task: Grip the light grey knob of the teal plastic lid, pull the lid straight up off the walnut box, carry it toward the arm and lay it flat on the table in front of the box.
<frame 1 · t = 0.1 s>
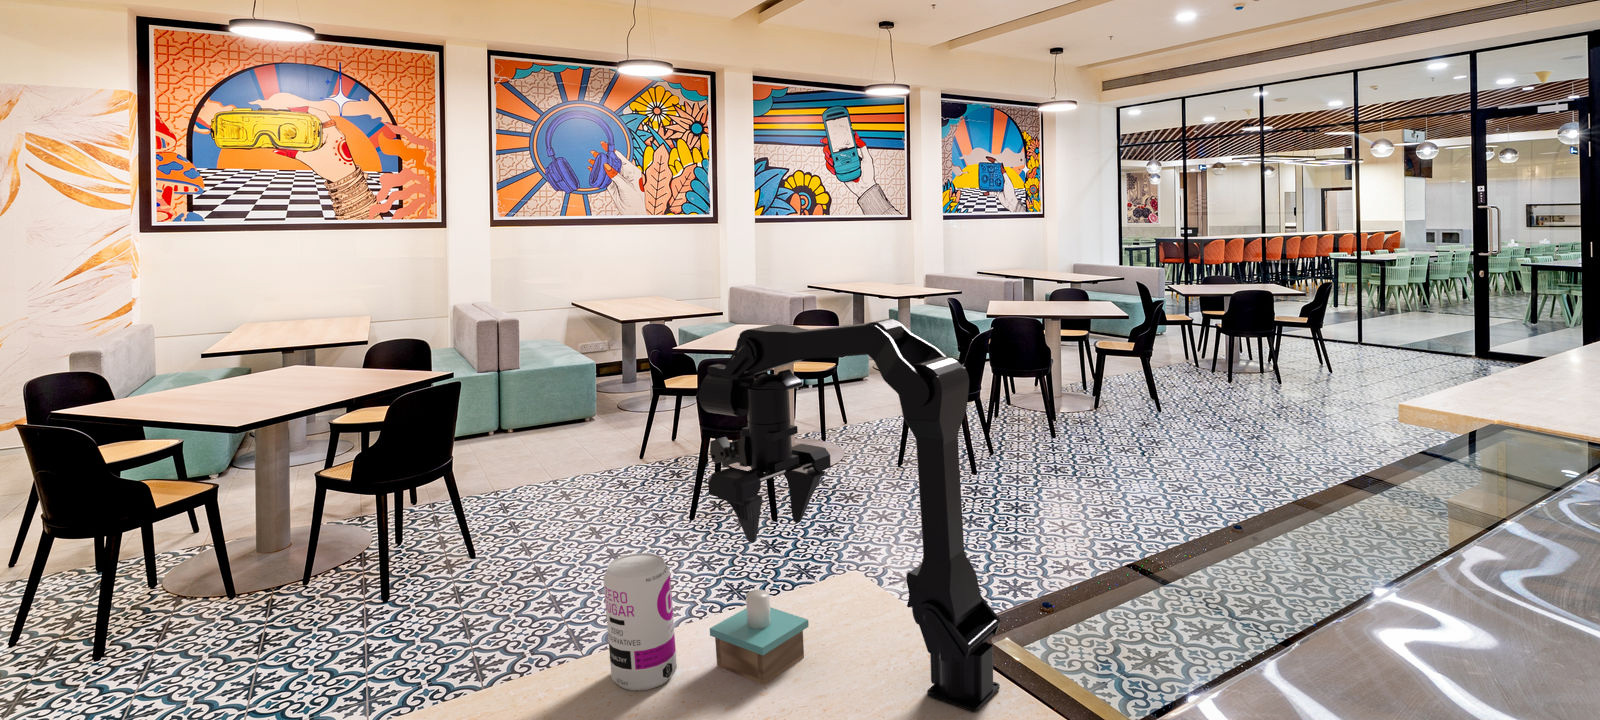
hand: (774, 531, 117), 15 cm above the table, fingers open, 9 cm apart
box: (760, 664, 112), on the table, touching lid
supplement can: (644, 677, 109), on the table
lid: (759, 631, 111), point 4 cm above the table, touching box
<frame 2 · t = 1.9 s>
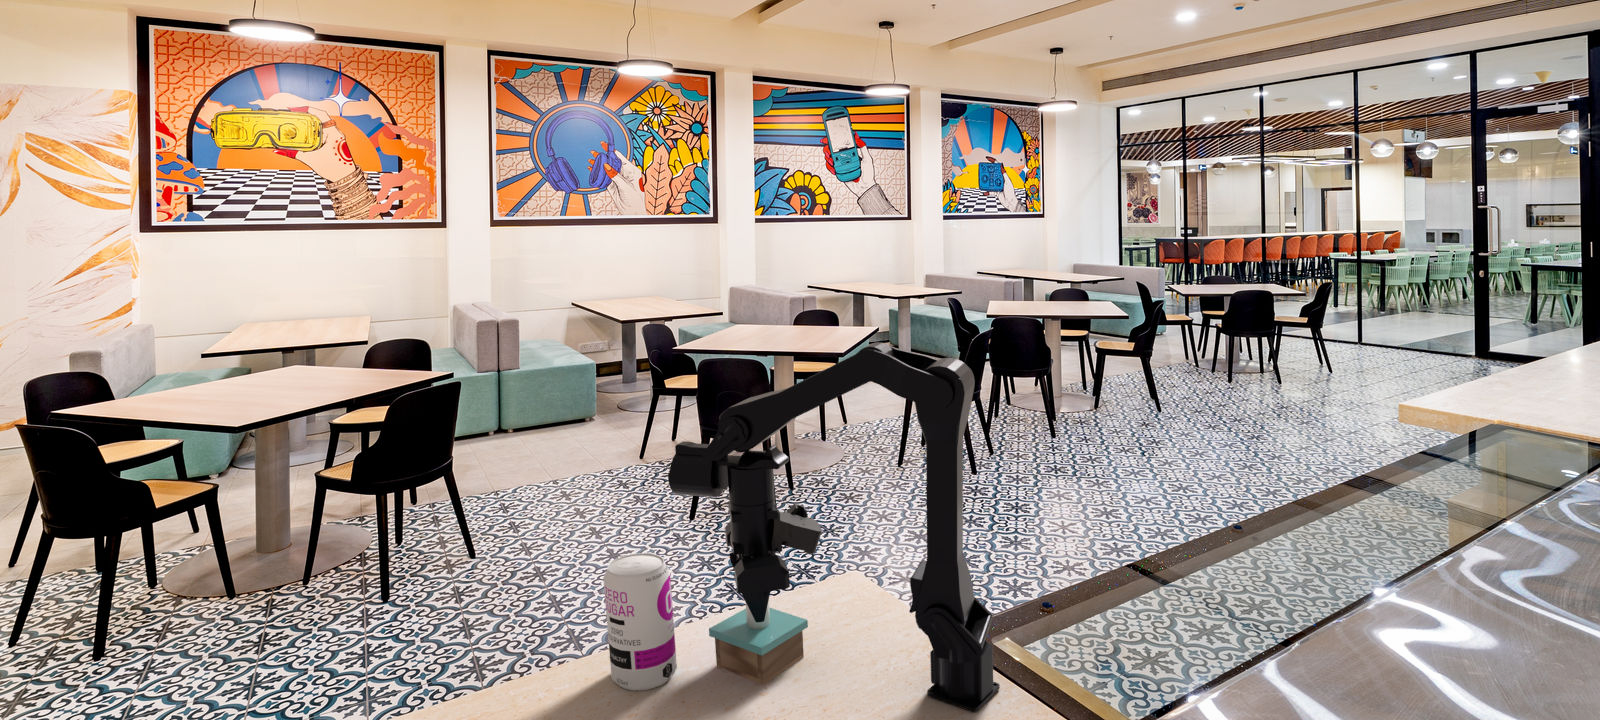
hand: (758, 615, 110), 6 cm above the table, fingers closed on lid, 3 cm apart
box: (760, 664, 112), on the table
lid: (758, 631, 111), point 4 cm above the table, touching gripper
everything else where it was.
when the fingers open (4 cm above the table, at t = 7.0 s): lid drops 1 cm, point 1 cm above the table.
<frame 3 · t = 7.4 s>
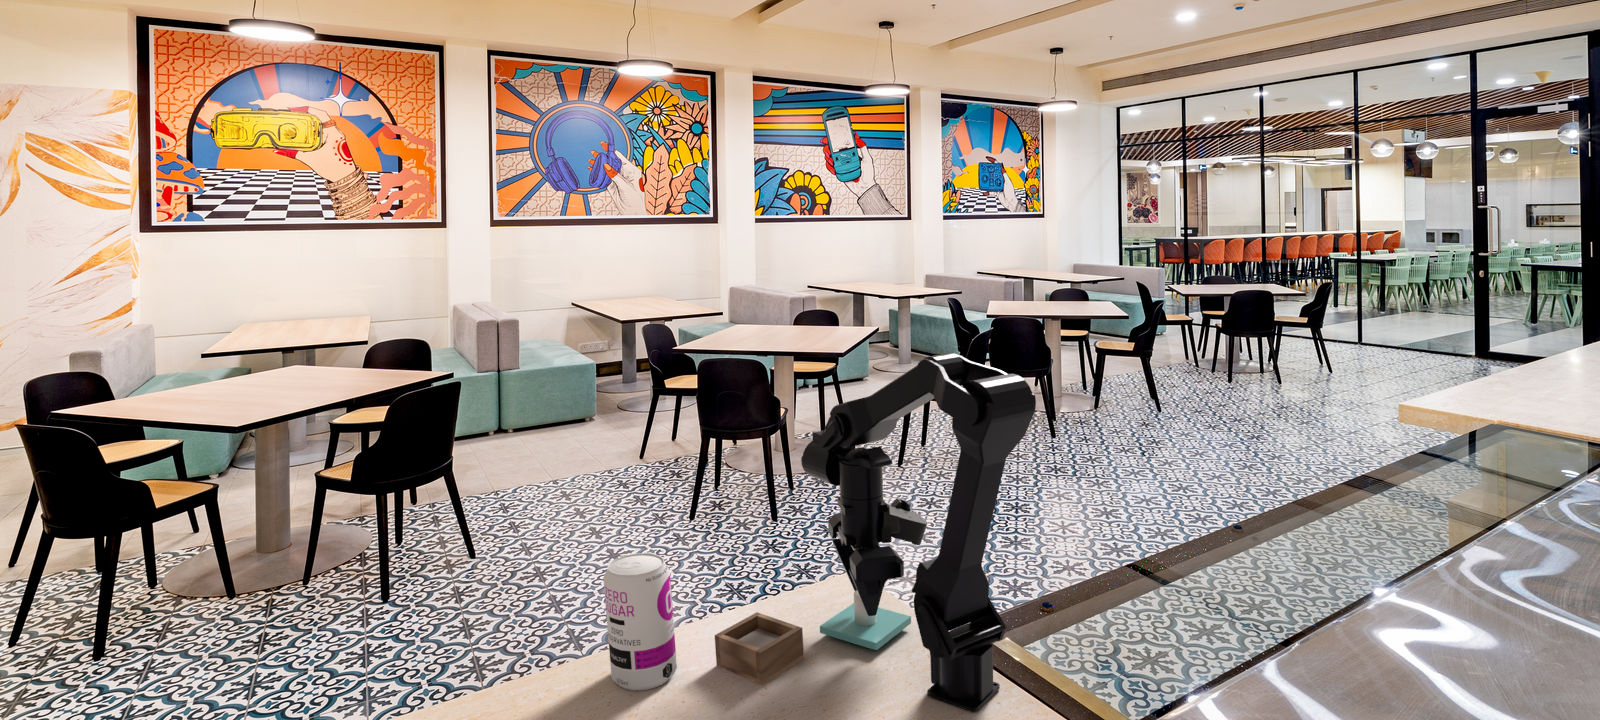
hand: (865, 603, 117), 4 cm above the table, fingers open, 7 cm apart
lid: (865, 628, 118), point 1 cm above the table
everything else where it was.
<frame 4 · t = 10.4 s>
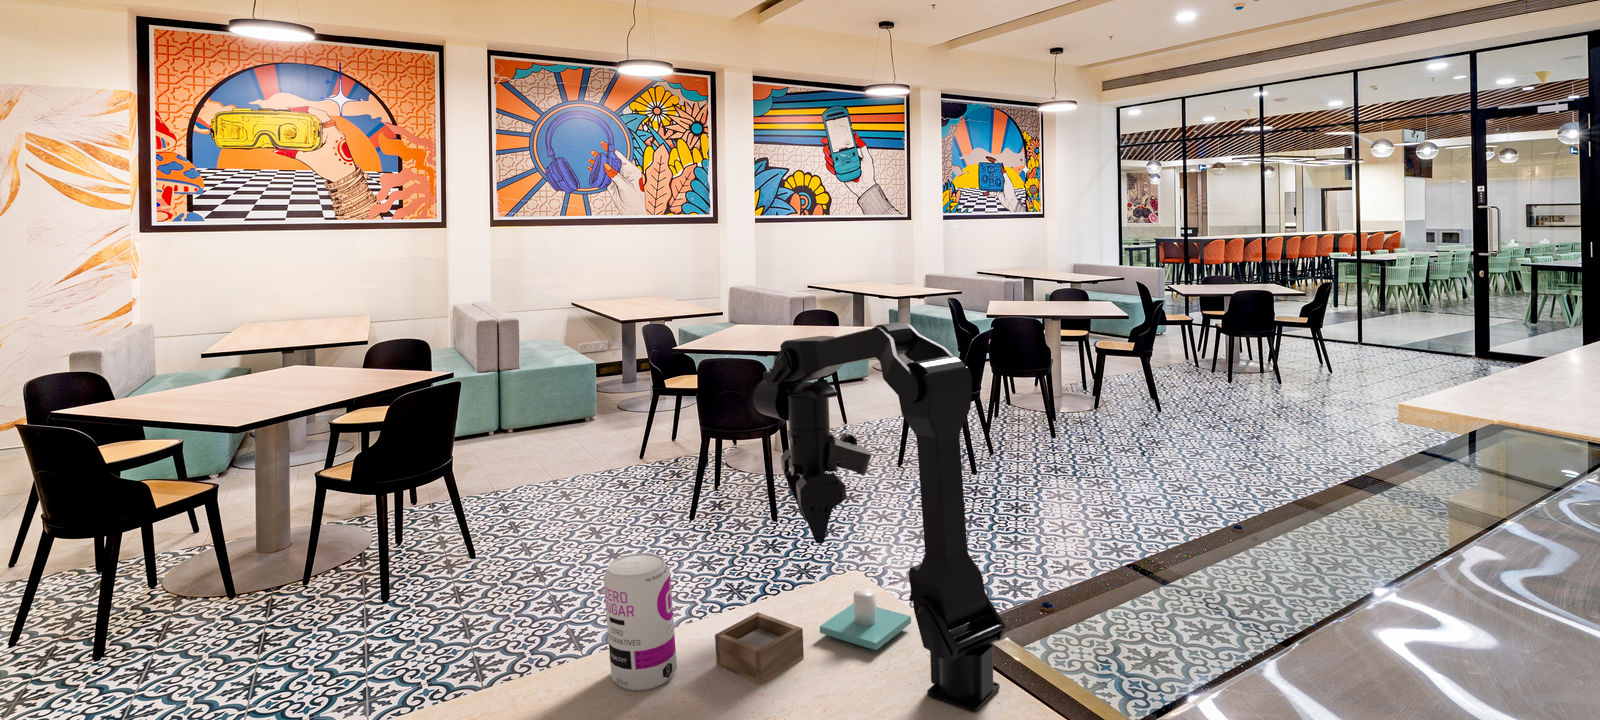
hand: (813, 531, 124), 12 cm above the table, fingers open, 9 cm apart
nothing on the table moved.
at the end: lid inside the target area (0.1 cm from its centre), point 0.8 cm above the table; lid tilted 0°; lid touching table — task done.
